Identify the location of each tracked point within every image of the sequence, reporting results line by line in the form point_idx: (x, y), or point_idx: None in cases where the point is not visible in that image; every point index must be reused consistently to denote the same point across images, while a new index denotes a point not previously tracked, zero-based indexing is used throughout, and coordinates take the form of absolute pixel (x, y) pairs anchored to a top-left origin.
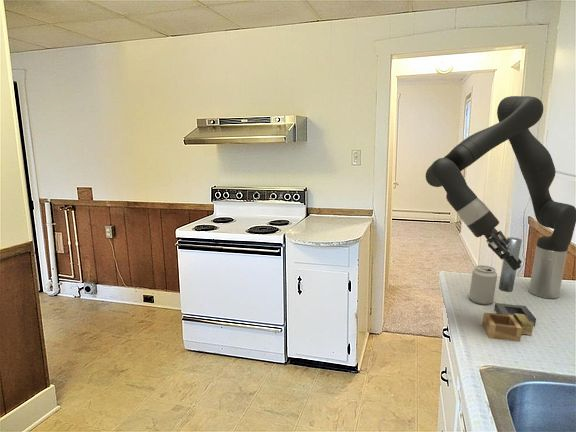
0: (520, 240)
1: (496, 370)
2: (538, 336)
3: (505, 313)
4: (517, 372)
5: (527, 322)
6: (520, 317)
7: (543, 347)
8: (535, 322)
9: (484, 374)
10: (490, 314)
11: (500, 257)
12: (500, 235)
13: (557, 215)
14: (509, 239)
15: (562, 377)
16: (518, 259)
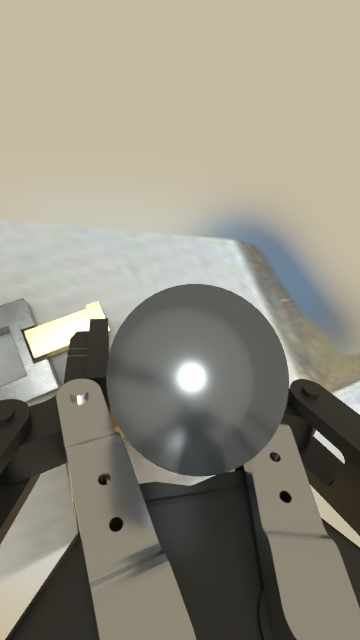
0: (220, 297)
1: (310, 363)
2: (92, 295)
3: (36, 385)
4: (290, 327)
5: (101, 317)
6: (59, 338)
7: (148, 284)
8: (25, 301)
9: (337, 381)
10: (115, 421)
11: (311, 443)
12: (326, 588)
13: None
14: (275, 428)
15: (253, 254)
16: (107, 336)
